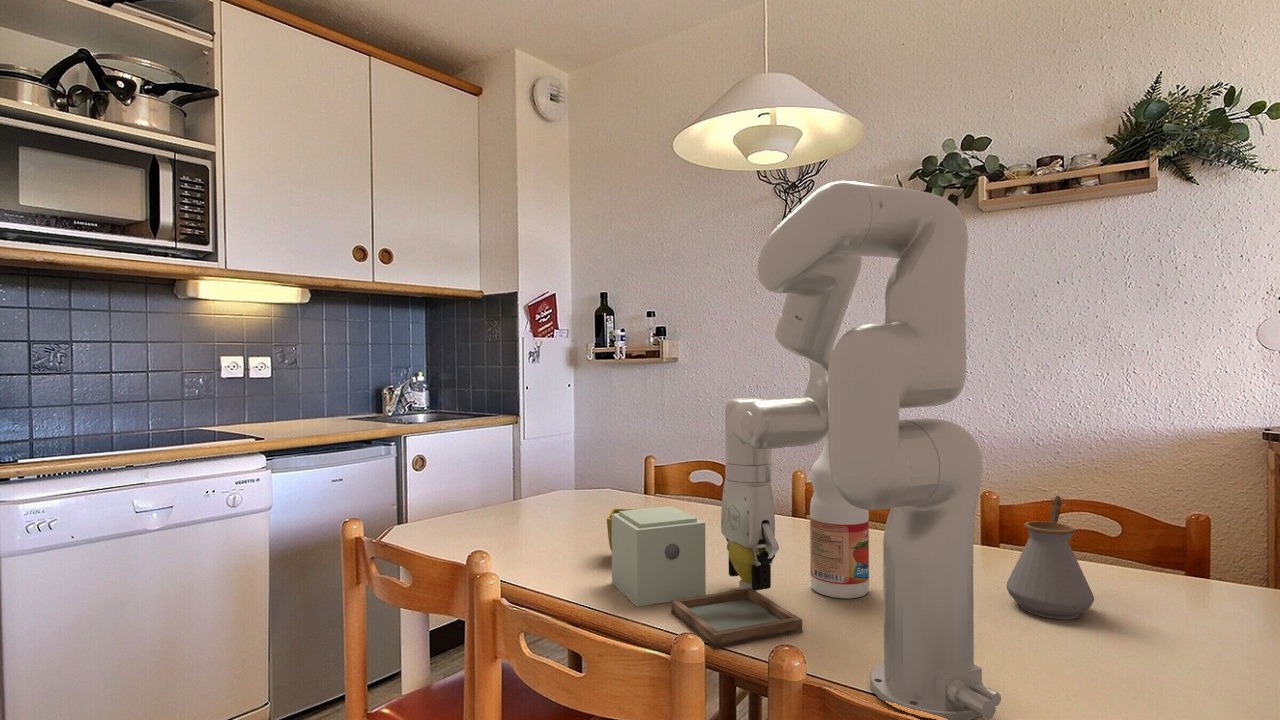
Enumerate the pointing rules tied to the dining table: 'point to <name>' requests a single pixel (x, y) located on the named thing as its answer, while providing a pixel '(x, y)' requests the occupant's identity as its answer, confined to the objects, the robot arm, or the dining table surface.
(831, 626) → the dining table surface
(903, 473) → the robot arm
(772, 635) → the tray
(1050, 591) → the coffee pot
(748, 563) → the light bulb
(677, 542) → the housing unit
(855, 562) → the fruit juice
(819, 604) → the dining table surface
